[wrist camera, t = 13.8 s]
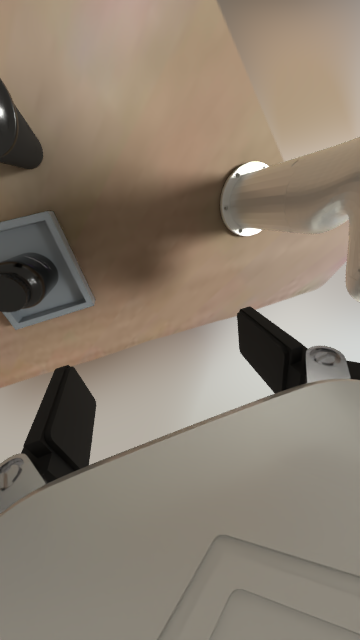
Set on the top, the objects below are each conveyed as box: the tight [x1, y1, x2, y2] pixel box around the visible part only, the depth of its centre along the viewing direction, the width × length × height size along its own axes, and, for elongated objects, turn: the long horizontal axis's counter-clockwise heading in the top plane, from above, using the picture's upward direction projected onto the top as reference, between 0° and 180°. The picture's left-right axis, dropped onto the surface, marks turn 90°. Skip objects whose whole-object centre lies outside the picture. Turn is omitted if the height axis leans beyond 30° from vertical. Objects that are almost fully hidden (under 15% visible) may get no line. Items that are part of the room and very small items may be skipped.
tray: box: [0, 211, 95, 330], centre depth 34 cm, size 14×16×3 cm
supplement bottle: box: [0, 253, 59, 313], centre depth 30 cm, size 7×7×12 cm
